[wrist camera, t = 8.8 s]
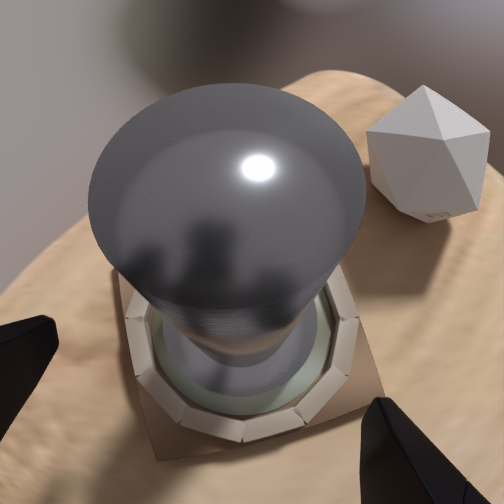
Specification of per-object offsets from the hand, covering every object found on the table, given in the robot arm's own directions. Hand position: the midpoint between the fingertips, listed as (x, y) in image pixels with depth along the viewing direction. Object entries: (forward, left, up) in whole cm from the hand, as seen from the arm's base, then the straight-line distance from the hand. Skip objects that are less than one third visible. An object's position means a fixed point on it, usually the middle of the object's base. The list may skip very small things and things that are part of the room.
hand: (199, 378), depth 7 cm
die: (+9, -16, -9) cm, 20 cm away
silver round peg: (+3, -2, -8) cm, 8 cm away
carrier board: (+3, -2, -9) cm, 9 cm away
